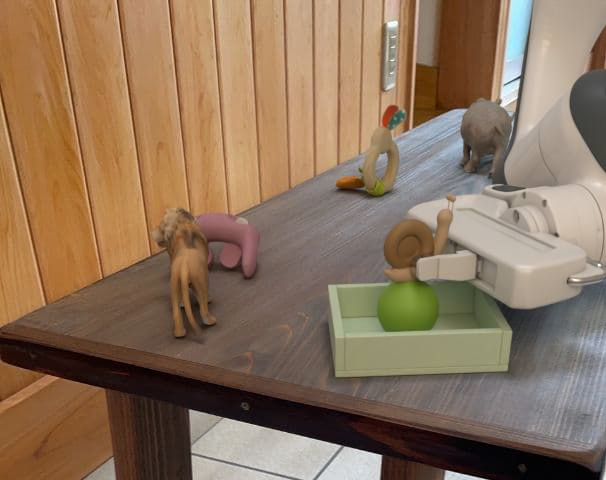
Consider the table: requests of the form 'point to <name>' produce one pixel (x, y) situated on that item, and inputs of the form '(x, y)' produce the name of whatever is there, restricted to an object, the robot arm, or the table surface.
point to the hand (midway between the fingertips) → (406, 263)
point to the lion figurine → (185, 265)
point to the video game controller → (231, 240)
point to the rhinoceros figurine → (485, 133)
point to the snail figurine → (405, 287)
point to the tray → (417, 334)
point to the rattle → (379, 145)
